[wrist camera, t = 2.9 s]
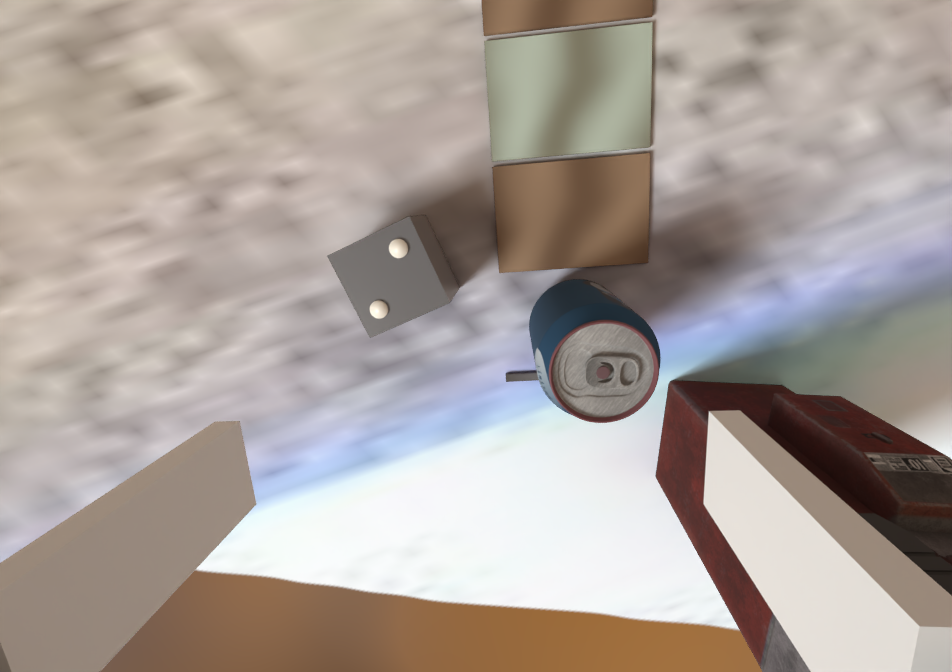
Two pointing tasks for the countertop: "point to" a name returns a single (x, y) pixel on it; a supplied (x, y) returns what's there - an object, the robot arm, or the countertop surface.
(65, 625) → the robot arm
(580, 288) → the soda can
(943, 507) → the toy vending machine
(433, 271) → the die
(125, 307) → the countertop surface
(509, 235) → the game board
